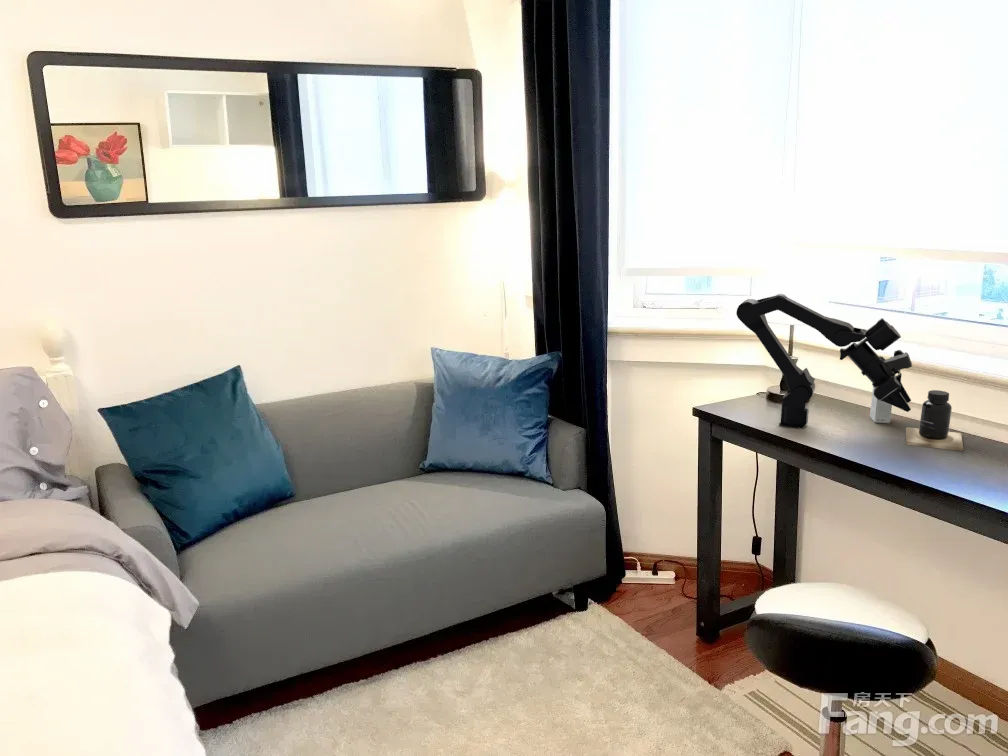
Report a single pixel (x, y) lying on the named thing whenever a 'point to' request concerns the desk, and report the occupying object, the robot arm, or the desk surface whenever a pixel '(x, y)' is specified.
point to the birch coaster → (949, 443)
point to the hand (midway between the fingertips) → (909, 406)
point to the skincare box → (880, 410)
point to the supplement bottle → (935, 416)
